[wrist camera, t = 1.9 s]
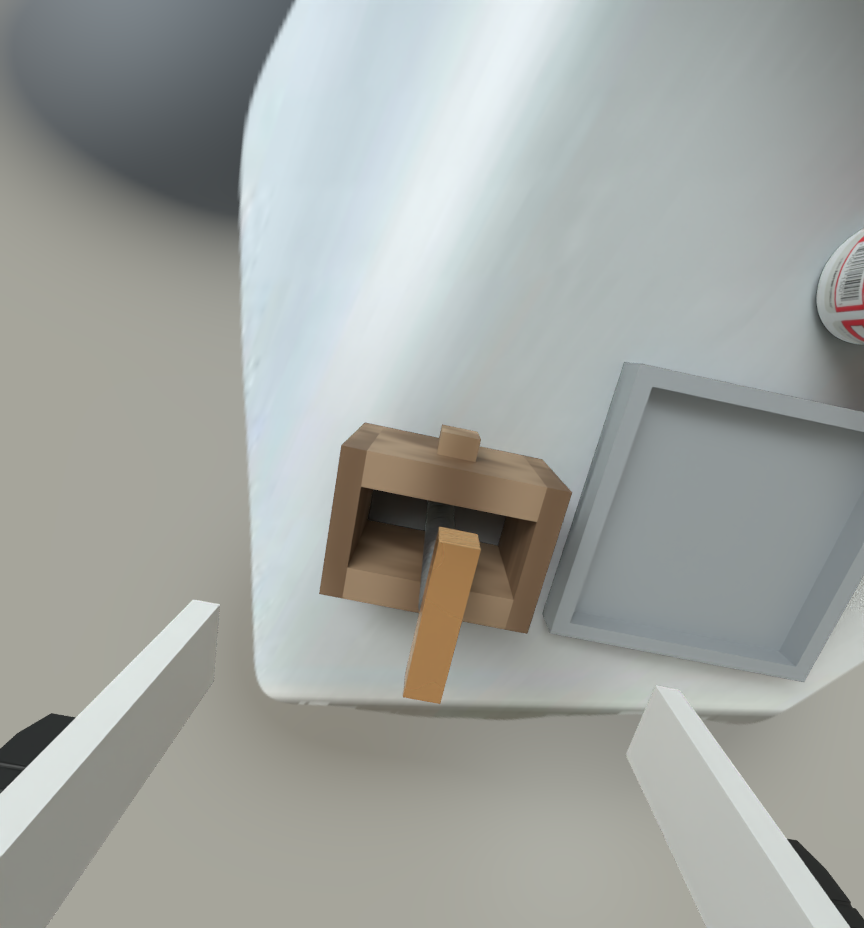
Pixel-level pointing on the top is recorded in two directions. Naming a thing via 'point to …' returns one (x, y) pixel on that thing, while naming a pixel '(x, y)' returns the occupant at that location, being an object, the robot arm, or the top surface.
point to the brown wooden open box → (451, 482)
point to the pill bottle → (844, 291)
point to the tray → (715, 525)
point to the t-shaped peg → (440, 602)
